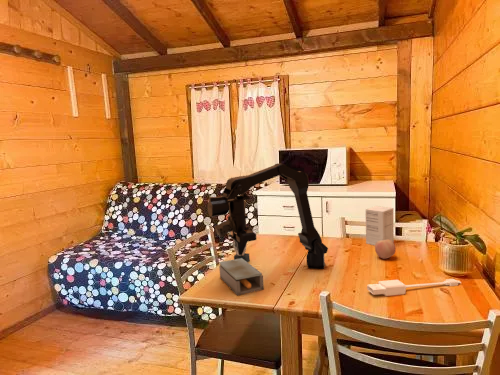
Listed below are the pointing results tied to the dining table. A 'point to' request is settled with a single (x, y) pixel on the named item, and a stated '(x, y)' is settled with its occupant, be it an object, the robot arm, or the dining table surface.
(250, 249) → the dining table surface
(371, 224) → the supplement box
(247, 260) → the watch
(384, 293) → the charging cable
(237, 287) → the cable duct
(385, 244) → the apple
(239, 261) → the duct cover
